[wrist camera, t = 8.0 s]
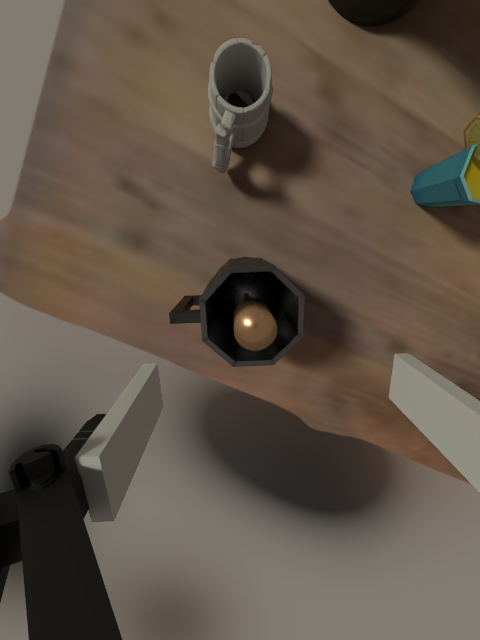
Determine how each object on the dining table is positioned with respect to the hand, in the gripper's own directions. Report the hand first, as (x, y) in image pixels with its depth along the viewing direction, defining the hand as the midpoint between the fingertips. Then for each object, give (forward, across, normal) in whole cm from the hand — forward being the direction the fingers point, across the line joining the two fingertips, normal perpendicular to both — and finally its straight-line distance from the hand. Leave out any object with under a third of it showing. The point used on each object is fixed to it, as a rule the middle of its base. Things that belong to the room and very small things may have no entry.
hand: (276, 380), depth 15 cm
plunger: (+28, -1, -1) cm, 28 cm away
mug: (+30, -2, +21) cm, 37 cm away
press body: (+29, -2, -1) cm, 29 cm away
